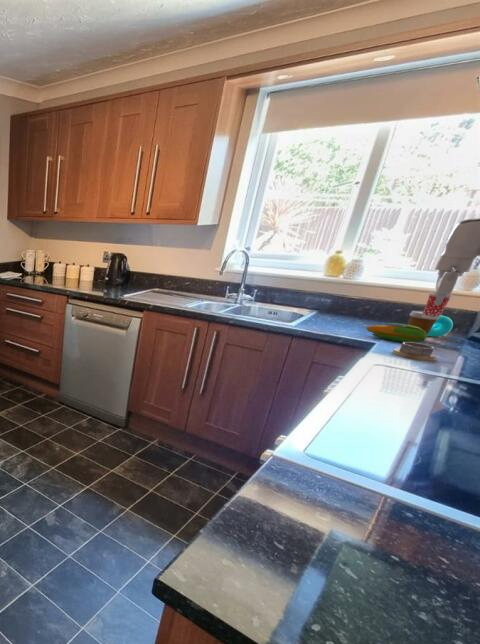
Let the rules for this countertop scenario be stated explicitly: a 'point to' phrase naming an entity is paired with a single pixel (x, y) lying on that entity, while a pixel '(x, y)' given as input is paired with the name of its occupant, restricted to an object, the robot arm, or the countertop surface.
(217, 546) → the countertop surface
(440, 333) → the turquoise rounded piece
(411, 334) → the corn
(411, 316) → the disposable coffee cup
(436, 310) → the beverage cup
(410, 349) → the stand
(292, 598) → the countertop surface
